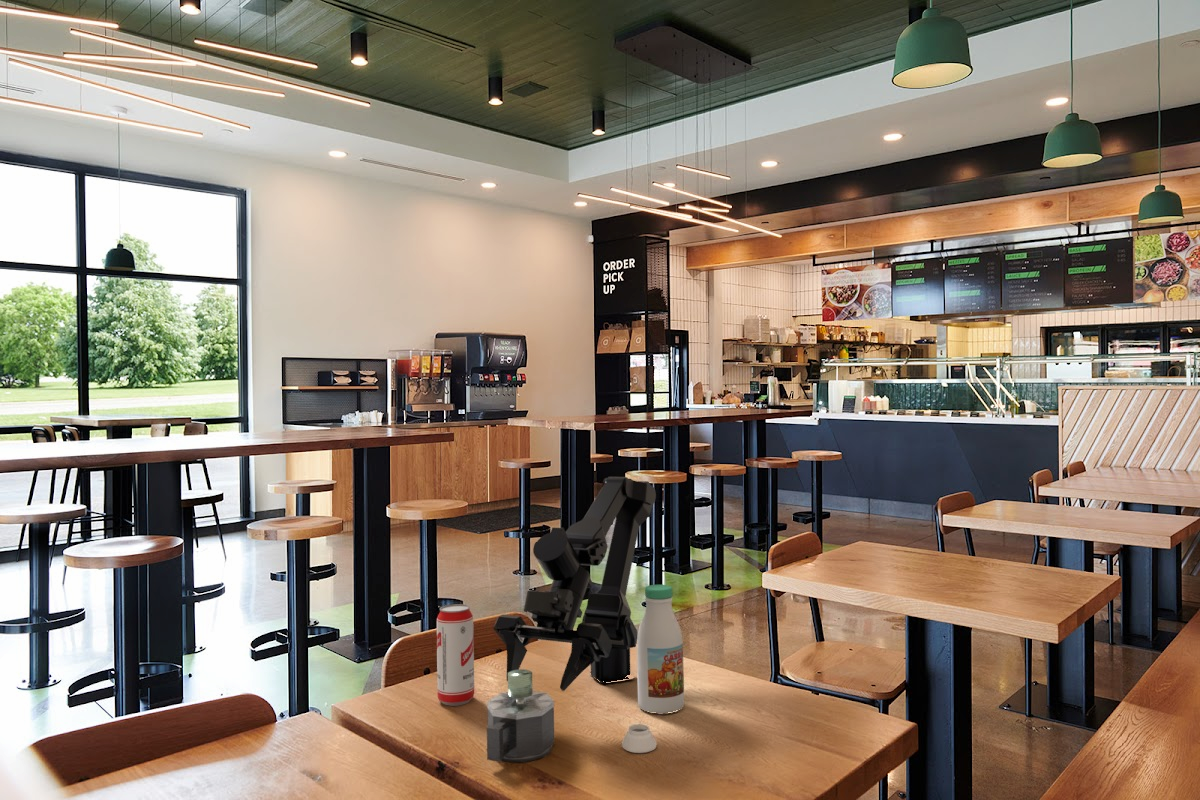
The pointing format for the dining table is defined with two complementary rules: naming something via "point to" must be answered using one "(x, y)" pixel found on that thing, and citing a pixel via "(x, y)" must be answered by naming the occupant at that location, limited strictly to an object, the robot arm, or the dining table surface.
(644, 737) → the white jar
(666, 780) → the dining table surface
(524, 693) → the plunger
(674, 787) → the dining table surface
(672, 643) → the milk bottle
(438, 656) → the beer can
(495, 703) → the grey octagonal canister
